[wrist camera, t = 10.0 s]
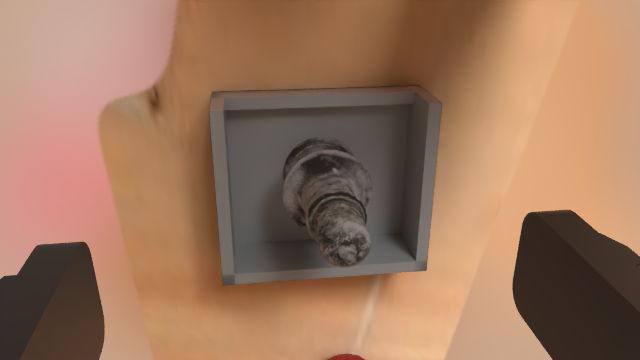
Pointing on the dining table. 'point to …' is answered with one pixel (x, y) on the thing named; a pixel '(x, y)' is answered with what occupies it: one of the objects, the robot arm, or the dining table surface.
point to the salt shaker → (329, 198)
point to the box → (367, 146)
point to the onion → (346, 357)
